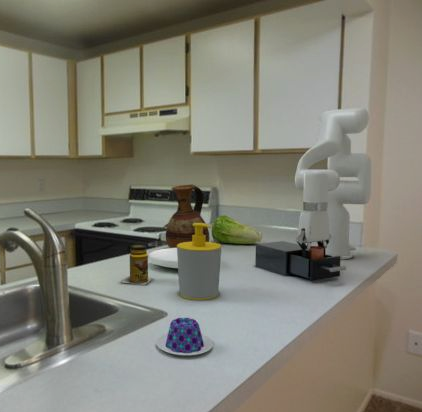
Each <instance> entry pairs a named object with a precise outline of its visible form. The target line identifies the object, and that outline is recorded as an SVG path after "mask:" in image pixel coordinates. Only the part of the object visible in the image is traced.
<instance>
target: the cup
mask: <svg viewBox="0 0 422 412" xmlns="http://www.w3.org/2000/svg"><path fill="white" fill-rule="evenodd" d="M309 250H310V251H311V260H312V259H319V258H323V257H324V248H323V247H319V246H318V245H311V246H310V249H309Z"/></svg>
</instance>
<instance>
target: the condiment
mask: <svg viewBox="0 0 422 412" xmlns="http://www.w3.org/2000/svg"><path fill="white" fill-rule="evenodd" d="M147 248H148V247H147V245H144V244H133V245H131V246H130V254H129V276H127V277H126V278H125V279H124V280H123V281H121V284H132V285H141V286H146V284H148V283H150V281H151V280H152V278H150V277H149V254H148V253H147V252H148V251H147V250H148V249H147Z"/></svg>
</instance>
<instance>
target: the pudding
mask: <svg viewBox="0 0 422 412" xmlns="http://www.w3.org/2000/svg"><path fill="white" fill-rule="evenodd" d="M201 331H202V330H201V327H200V324H199V322H198V321H197V320H196V319H194V318H190V317H177V318H175V319H172V320H171V322H170V324H169V329H168V332H166V333H164V334H162V335H160V336H159V337H158V338H157V339H156V341H155V344H156V346H157V347H158V348H159V349H160V350H161V351H163V352H166V353H168V354H172V355H177V356H197V355H200V354H204V353H206V352H208V351H210V350H211V349H212V348H213V346H214V342H213V340H212V339H211V338H210V337H209V336H208V335H205V334H203V333H202V332H201Z"/></svg>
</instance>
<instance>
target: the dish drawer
mask: <svg viewBox="0 0 422 412" xmlns="http://www.w3.org/2000/svg"><path fill="white" fill-rule="evenodd" d="M346 270H347V266H346V265H341V259H340V256H331V255H326V254H325V258H319V259H312V260H310V259H308V258H304V257H302V252H295V253H288V261H287V272H290V273H293V274H295V275H296V276H300V277H303V278H306V279H309V281H310V282H316V281H323V280H328V279H333V278H339V277H341V272H343V271H346Z"/></svg>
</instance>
